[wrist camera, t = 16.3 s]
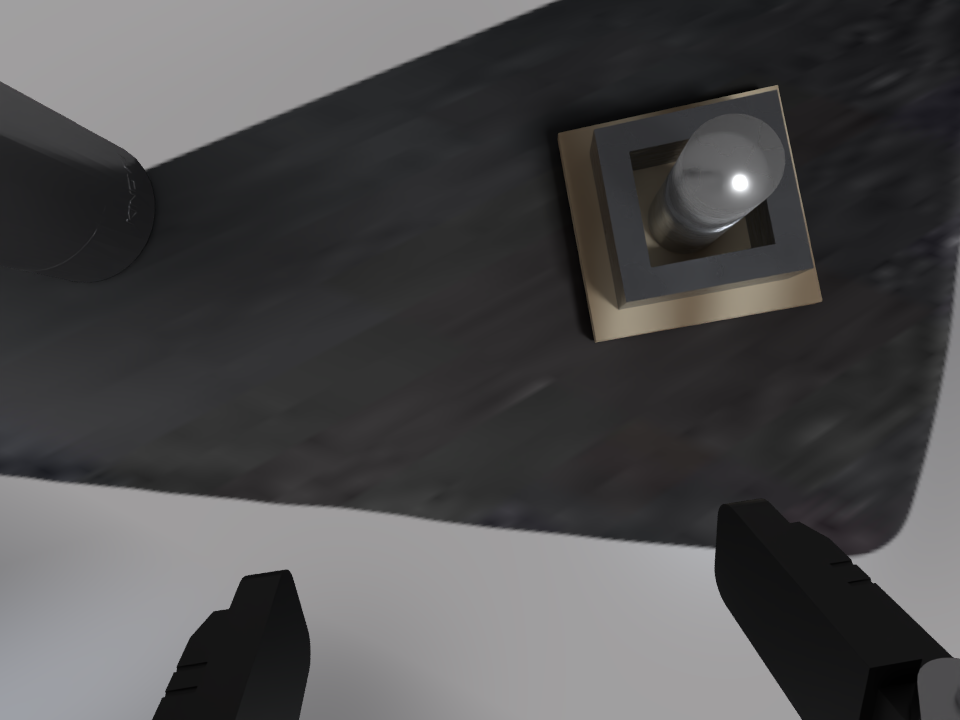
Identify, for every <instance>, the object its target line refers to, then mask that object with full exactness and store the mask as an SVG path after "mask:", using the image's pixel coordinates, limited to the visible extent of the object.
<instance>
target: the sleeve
mask: <svg viewBox="0 0 960 720" xmlns="http://www.w3.org/2000/svg"><path fill="white" fill-rule="evenodd" d="M725 114H746V115H750V116H753V117H756V118H758V119H760V120H762V121H763V122H765V123H766V124H768V125H769V126H770V127H771V128H772V129H773V130H774V131H775V133H776V134H777V135H778V137H779V139H780V140H781V143H782V145H783V149H784V153H785V168H784V173H783V176H782V178H781V181H780V183H779V184H778V186H777V188H776V189H775V190H774V191H773V193H772V194H771V195H770V196H769V197H768V198H766V199H765V200H764V201H763V202H762V203H760V204H759V205H758V206H757V207H755V208H754V209H753V210H752V211H751V212H749V213H748V214H747V215H746V216H745V219H746V224H747V229H748V234H749V239H750V244H751V249H746V250H741V251H736V252H730V253H725V254H720V255H715V256H709V257H704V258H699V259H694V260H688V261H683V262H678V263H672V264H667V265H662V266H657V267H651V265H650V259H649V254H648V249H647V244H646V238H645V233H644V228H643V223H642V217H641V212H640V207H639V201H638V196H637V191H636V186H635V180H634V175H633V171H634V170H639V169H644V168H648V167H653V166H658V165H663V164H668V163H672V162H676V161H677V159H678V157H679V156H680V154H681V152H682V151H683V149H684V147H685V146H686V144H687V142H688V141H689V139H690V138H691V136H692V135H693V133H694V132H695V131H696V130H697V129H698V128H699V127H700V126H701V125H703V124H704V123H705V122H707V121H709V120H711V119H713V118H715V117H718V116H721V115H725ZM589 154H590V159H591V165H592V170H593V175H594V181H595V186H596V191H597V197H598V202H599V207H600V213H601V218H602V224H603V229H604V234H605V240H606V245H607V250H608V256H609V261H610V266H611V272H612V277H613V283H614V288H615V293H616V299H617V304H618V309H619V310H621V309H626V308H632V307H637V306H643V305H648V304H654V303H659V302H665V301H670V300H676V299H681V298H687V297H692V296H697V295H703V294H708V293H714V292H719V291H725V290H730V289H736V288H741V287H747V286H752V285H758V284H763V283H769V282H774V281H780V280H785V279H789V278H791V277H794V276H796V275H798V274H801V273H803V272H806V271H808V270H810V269H813V268H814V266H813V261H812V256H811V251H810V246H809V242H808V237H807V232H806V227H805V222H804V217H803V213H802V208H801V203H800V198H799V193H798V188H797V183H796V179H795V174H794V169H793V164H792V159H791V154H790V149H789V145H788V140H787V135H786V130H785V125H784V120H783V116H782V111H781V106H780V101H779V96H778V91H777V90H772V91H768V92H763V93H759V94H754V95H749V96H745V97H740V98H736V99H731V100H727V101H722V102H717V103H713V104H708V105H704V106H699V107H695V108H690V109H685V110H681V111H676V112H672V113H667V114H662V115H658V116H653V117H649V118H644V119H640V120H635V121H630V122H626V123H621V124H617V125H612V126H608V127H603V128H598V129H594V132H593V137H592V142H591V147H590V152H589Z"/></svg>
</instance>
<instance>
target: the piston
mask: <svg viewBox="0 0 960 720" xmlns="http://www.w3.org/2000/svg"><path fill="white" fill-rule="evenodd" d="M784 168H785V153H784V149H783V145H782V143H781V140H780V139H779V137H778V135H777V134H776V133H775V131H774V130H773V129H772V128H771V127H770V126H769V125H768V124H766V123H765V122H763V121H762V120H760V119H758V118H756V117H753V116H750V115H746V114H725V115H721V116H718V117H715V118H713V119H711V120H709V121H707V122H705V123H704V124H703V125H701V126H700V127H699V128H698V129H697V130H696V131H695V132H694V133H693V135H692V136H691V138H690V139H689V141H688V142H687V144H686V146H685V147H684V149H683V151H682V152H681V154H680V156H679V157H678V159H677V161H676V162H675V164H674V166H673V167H672V169H671V171H670V172H669V174H668V176H667V177H666V179H665V181H664V182H663V184H662V186H661V187H660V189H659V191H658V192H657V194H656V196H655V197H654V199H653V201H652V203H651V205H650V207H649V210H648V226H649V230H650V232H651V234H652V236H653V238H654V239H655V241H656V242H657V243H658V244H659V245H661V246H662V247H663V248H665V249H667V250H669V251H671V252H674V253H679V254H690V253H695V252H698V251H701V250H703V249H704V248H706V247H707V246H709V245H710V244H711V243H713V242H714V241H715V240H716V239H717V238H719V237H720V236H721V235H722V234H724V233H725V232H726V231H727V230H728V229H730V228H731V227H732V226H733V225H735V224H736V223H737V222H738V221H739V220H741V219H742V218H743V217H744V216H746V215H747V214H748V213H749V212H751V211H752V210H753V209H754V208H755V207H757V206H758V205H759V204H760V203H762V202H763V201H764V200H765V199H766V198H768V197H769V196H770V195H771V194H772V193H773V191H774V190H775V189H776V188H777V186H778V184H779V183H780V181H781V178H782V176H783V173H784Z"/></svg>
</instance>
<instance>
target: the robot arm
mask: <svg viewBox="0 0 960 720" xmlns="http://www.w3.org/2000/svg"><path fill="white" fill-rule="evenodd" d="M154 215H155V200H154V193H153V189H152V185H151V182H150V180H149V178H148V176H147V174H146V172H145V170H144V168H143V167H142V166H141V164H140V163H139V162H138V161H137V159H136V158H134V157H133V156H132V155H131V154H129V153H128V152H127V151H126V150H124V149H122V148H121V147H118V146H117V145H115V144H113V143H111V142H110V141H108V140H106V139H104V138H102V137H100V136H98V135H97V134H95V133H93V132H91V131H89V130H88V129H86V128H84V127H82V126H80V125H78V124H77V123H75V122H74V121H72V120H70V119H68V118H66V117H64V116H62V115H61V114H59V113H57V112H55V111H53V110H52V109H50V108H48V107H46V106H44V105H42V104H41V103H39V102H37V101H35V100H33V99H31V98H30V97H28V96H26V95H24V94H22V93H21V92H18V91H17V90H15V89H13V88H11V87H10V86H8V85H6V84H4V83H2V82H0V266H4V267H8V268H13V269H17V270H22V271H26V272H31V273H36V274H41V275H46V276H50V277H55V278H60V279H65V280H70V281H74V282H96V281H101V280H105V279H107V278H110V277H112V276H114V275H116V274H118V273H120V272H121V271H122V270H124V269H125V268H127V267H128V266H129V265H130V264H131V263H132V262H133V261H134V260H135V259H136V258H137V257H138V256H139V254H140V253H141V251H142V250H143V248H144V246H145V245H146V243H147V241H148V238H149V236H150V233H151V230H152V227H153V222H154ZM715 577H716V583H717V586H718V589H719V592H720V595H721V597H722V599H723V601H724V603H725V605H726V606H727V608H728V609H729V611H730V612H731V613H732V615H733V616H734V618H735V620H736V621H737V623H738V624H739V626H740V627H741V629H742V630H743V632H744V633H745V635H746V636H747V638H748V639H749V641H750V642H751V644H752V645H753V647H754V648H755V650H756V651H757V653H758V654H759V656H760V657H761V659H762V660H763V662H764V663H765V665H766V666H767V668H768V669H769V671H770V672H771V674H772V675H773V677H774V678H775V680H776V681H777V683H778V684H779V686H780V687H781V689H782V690H783V692H784V693H785V695H786V696H787V698H788V699H789V701H790V702H791V704H792V705H793V707H794V708H795V710H796V711H797V713H798V714H799V716H800V717H801V719H802V720H960V659H958V658H953V657H952V656H951V655H950V654H949V653H948V652H946V650H945V649H944V648H943V647H942V646H941V645H939V644H938V643H937V642H936V641H935V640H934V639H933V638H932V637H931V636H930V635H929V634H928V633H927V632H926V631H925V630H924V629H923V628H922V627H921V626H920V625H919V624H918V623H917V622H916V621H914V620H913V619H912V618H911V617H910V616H909V615H908V614H907V613H906V612H905V611H904V610H903V609H902V608H901V607H900V606H899V605H898V604H897V603H896V602H895V601H894V600H893V599H892V598H891V597H890V596H888V595H887V594H886V593H885V592H884V591H883V590H882V589H881V588H880V587H879V586H878V585H877V584H876V583H872V582H871V579H870V577H868V575H867V574H866V573H864V571H862V570H861V569H860V568H859V567H858V566H857V565H853V563H852V560H851V559H850V558H849V557H848V556H847V555H846V554H845V553H844V552H843V551H842V550H841V549H840V548H839V547H838V546H836V545H835V544H834V543H833V542H832V541H831V540H830V539H829V538H827V537H826V536H824V535H822V534H820V533H818V532H817V531H815V530H813V529H811V528H810V527H808V526H806V525H804V524H802V523H801V522H795V523H789V522H788V521H787V520H786V519H785V518H784V517H783V516H782V515H781V514H780V513H779V512H778V511H777V510H776V509H775V508H774V507H773V506H772V505H771V504H770V503H769V502H768V501H767V500H765V499H754V500H748V501H741V502H735V503H728V504H723V505H721V506H720V508H719V511H718V521H717V536H716V552H715ZM309 668H310V638H309V632H308V629H307V625H306V622H305V618H304V615H303V611H302V608H301V604H300V601H299V597H298V594H297V590H296V587H295V583H294V580H293V577H292V574H291V573H290V571H289V570H281V571H274V572H268V573H261V574H254V575H248V576H245V577H243V578H242V580H241V582H240V584H239V586H238V588H237V591H236V593H235V596H234V598H233V601H232V604H231V606H230V608H229V609H226V610H220V611H214V612H213V613H212V614H211V615H210V616H209V617H208V618H207V619H206V621H205V622H204V623H203V624H202V625H201V626H200V627H199V628H198V630H197V631H196V632H195V633H194V634H193V635H192V636H191V638H190V639H189V641H188V643H187V645H186V648H185V650H184V652H183V654H182V656H181V658H180V661H179V663H178V665H177V672H174V674H173V676H172V678H171V680H170V682H169V684H168V687H167V689H166V691H165V692H166V695H165V697H163V698H162V700H161V702H160V704H159V706H158V708H157V710H156V712H155V715H154V717H153V719H152V720H299V717H300V711H301V706H302V702H303V697H304V693H305V687H306V683H307V678H308V673H309Z"/></svg>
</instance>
